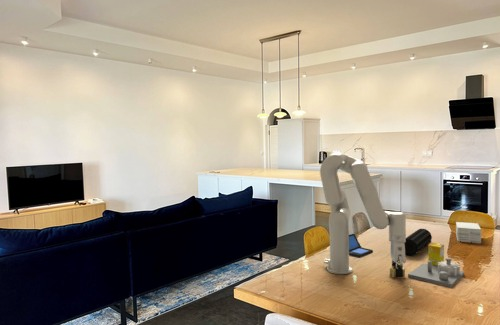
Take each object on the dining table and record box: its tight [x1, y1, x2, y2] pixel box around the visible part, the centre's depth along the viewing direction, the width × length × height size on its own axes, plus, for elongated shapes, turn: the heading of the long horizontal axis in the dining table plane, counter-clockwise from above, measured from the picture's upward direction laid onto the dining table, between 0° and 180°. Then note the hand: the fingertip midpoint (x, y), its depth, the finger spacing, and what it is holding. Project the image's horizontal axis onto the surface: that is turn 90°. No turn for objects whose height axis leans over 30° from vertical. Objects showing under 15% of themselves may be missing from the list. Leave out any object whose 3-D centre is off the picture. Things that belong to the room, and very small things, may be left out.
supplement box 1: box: [427, 242, 445, 266], centre depth 191 cm, size 6×6×11 cm
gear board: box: [407, 257, 465, 288], centre depth 176 cm, size 19×20×8 cm
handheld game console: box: [349, 233, 374, 258], centre depth 216 cm, size 16×13×9 cm
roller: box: [404, 228, 433, 257], centre depth 221 cm, size 38×10×10 cm, turn 140°
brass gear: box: [389, 265, 406, 280], centre depth 177 cm, size 7×7×4 cm
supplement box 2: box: [455, 221, 482, 244], centre depth 239 cm, size 17×13×9 cm
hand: (397, 273), depth 177 cm, fingers closed on brass gear, 6 cm apart
